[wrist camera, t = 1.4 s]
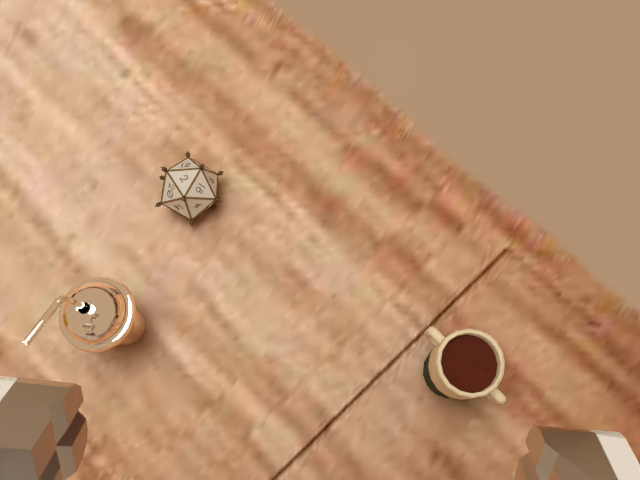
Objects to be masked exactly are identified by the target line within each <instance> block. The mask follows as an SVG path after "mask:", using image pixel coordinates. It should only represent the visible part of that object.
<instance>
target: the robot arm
mask: <svg viewBox="0 0 640 480" xmlns="http://www.w3.org/2000/svg"><path fill="white" fill-rule="evenodd" d="M82 402H83V395H82V390H81V386H79V385H77V384H74V383H65V382H57V381H48V380H40V379H31V378H17V377H8V376H0V480H65V479H67V478H68V477H70V476H71V475H72V474H74V473H75V472H76V471H77V469H78V467H79V464H80V462H81V460H82V458H83V454H84V451H85V447H86V443H87V430H88V429H87V421H86V418H85V417H84V416H83V415H82V414H81V413H80V412H79V411H78V409H79V408H80V406H81V404H82ZM526 444H527V447H528V450H529V453H527V454H526V455H524V456H523V457H522V458H520V459H519V463H518V467H517V470H516V479H515V480H640V464H639V462H638V461H637V459H636V457H635V455H634V453H633V451H632V450H631V448H630V446H629V444H628V442H627V441H626V439H625V437H624V436H623V435H622V434H620V433H619V432H610V431H598V430H589V431H588V430H582V429H570V428H558V427H546V426H533V427H532V428H531V429H530V430H529V433H528V436H527V438H526Z"/></svg>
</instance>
